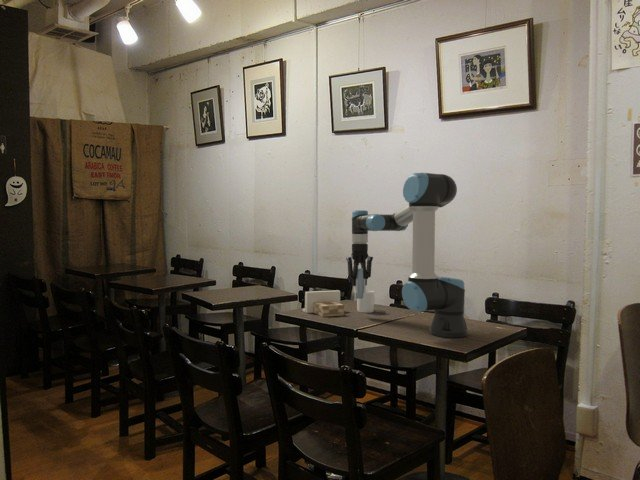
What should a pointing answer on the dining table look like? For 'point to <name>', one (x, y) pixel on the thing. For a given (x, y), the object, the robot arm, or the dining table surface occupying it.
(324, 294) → the panel
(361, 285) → the dowel
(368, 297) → the cup
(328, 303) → the block
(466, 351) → the dining table surface
